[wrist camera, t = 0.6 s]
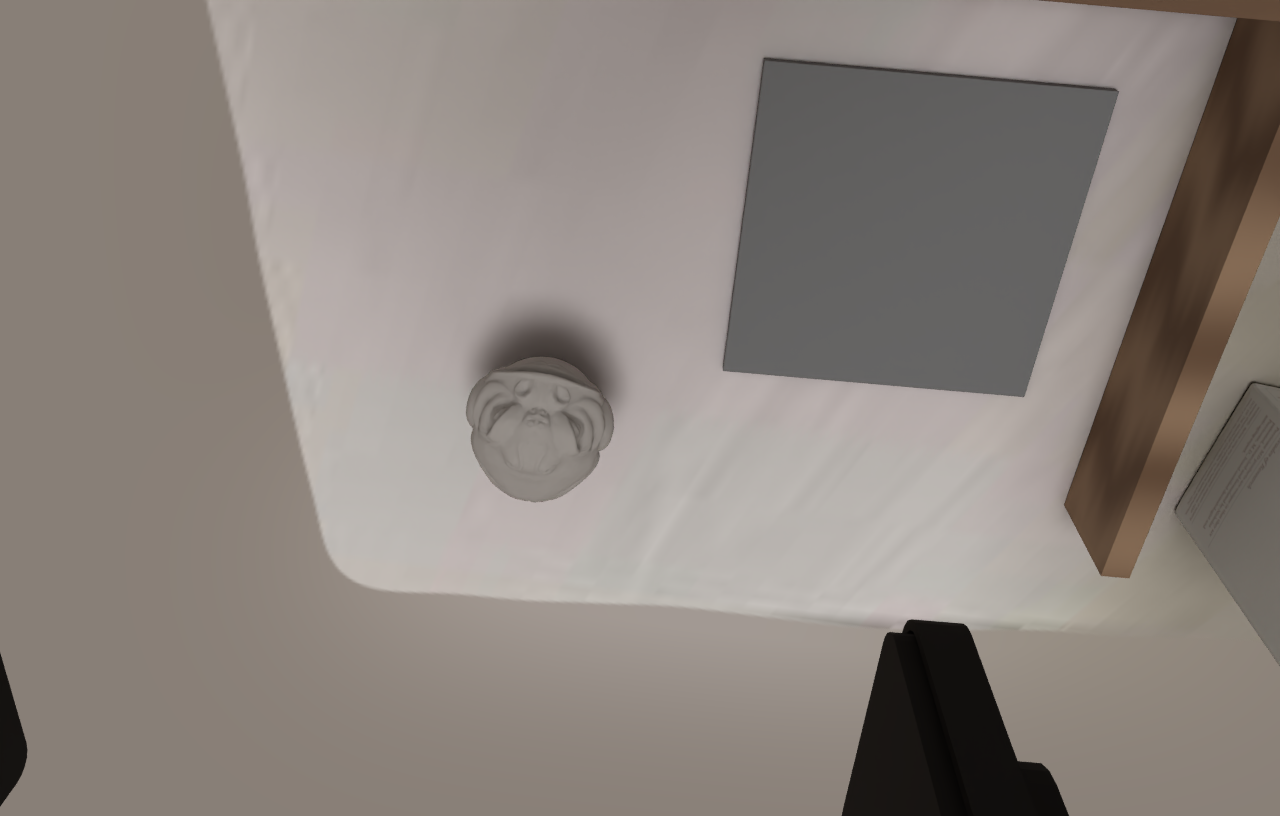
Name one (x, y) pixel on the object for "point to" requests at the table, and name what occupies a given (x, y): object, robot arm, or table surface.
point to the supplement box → (1243, 510)
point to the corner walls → (1186, 288)
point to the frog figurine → (538, 427)
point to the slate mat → (908, 224)
